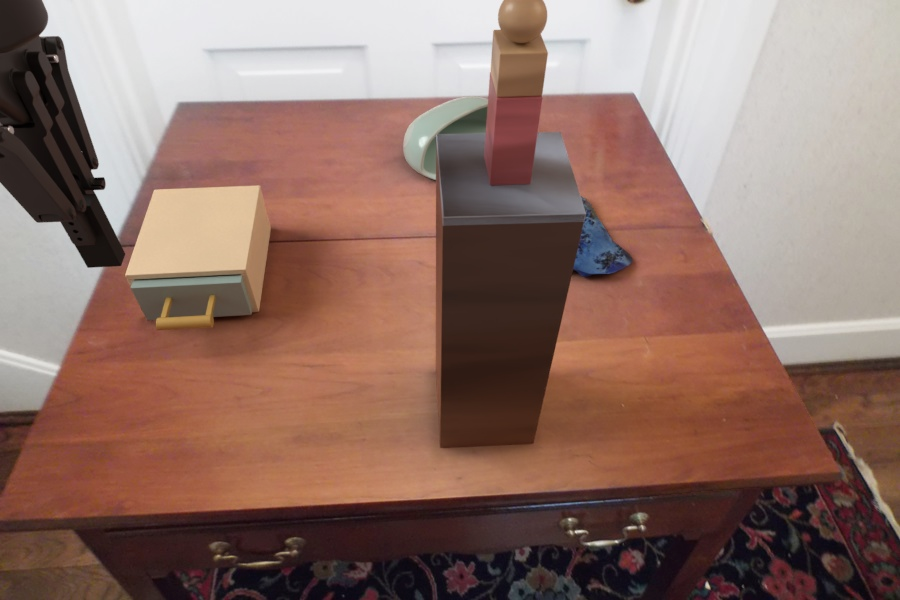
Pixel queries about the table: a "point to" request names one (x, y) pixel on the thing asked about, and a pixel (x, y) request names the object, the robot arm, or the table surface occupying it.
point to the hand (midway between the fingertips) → (106, 260)
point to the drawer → (191, 300)
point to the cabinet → (204, 236)
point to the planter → (442, 130)
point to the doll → (515, 91)
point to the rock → (598, 248)
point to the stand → (500, 288)
